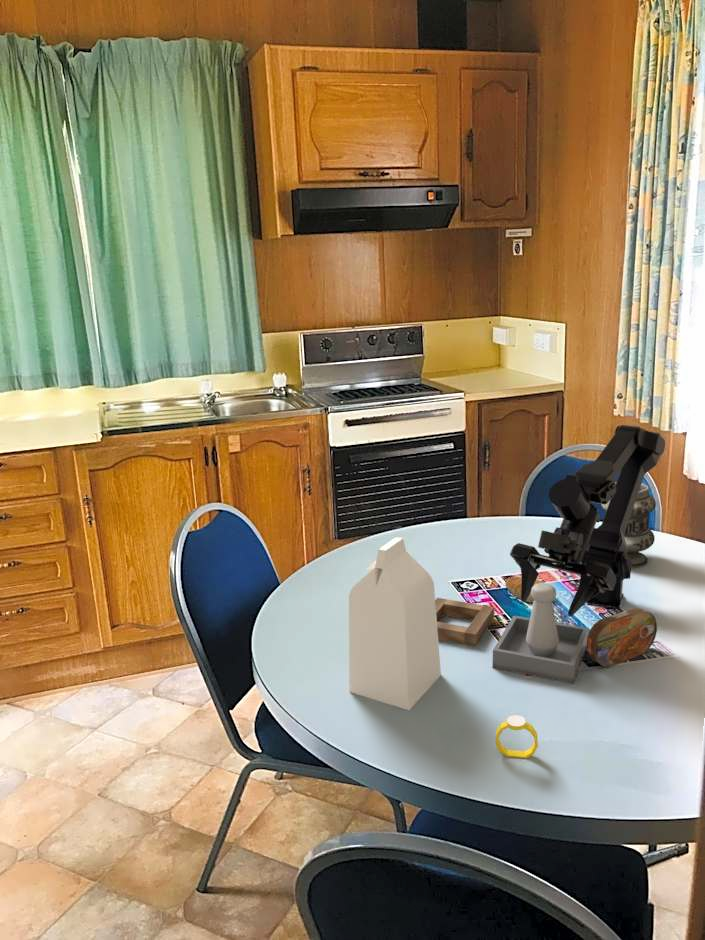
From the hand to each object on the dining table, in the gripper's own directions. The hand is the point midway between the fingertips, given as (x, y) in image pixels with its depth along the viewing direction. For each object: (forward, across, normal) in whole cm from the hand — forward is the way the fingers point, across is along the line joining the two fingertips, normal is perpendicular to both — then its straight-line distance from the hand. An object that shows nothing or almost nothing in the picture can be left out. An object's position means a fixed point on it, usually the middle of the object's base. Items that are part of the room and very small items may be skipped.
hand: (545, 608), depth 137 cm
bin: (+7, 0, +6) cm, 9 cm away
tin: (+2, +11, +12) cm, 16 cm away
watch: (+27, +10, -14) cm, 32 cm away
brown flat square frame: (+7, -19, +6) cm, 21 cm away
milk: (+24, -16, -11) cm, 30 cm away
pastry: (-7, -15, +21) cm, 27 cm away
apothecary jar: (-28, -5, +42) cm, 50 cm away
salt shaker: (+7, 0, +5) cm, 9 cm away
